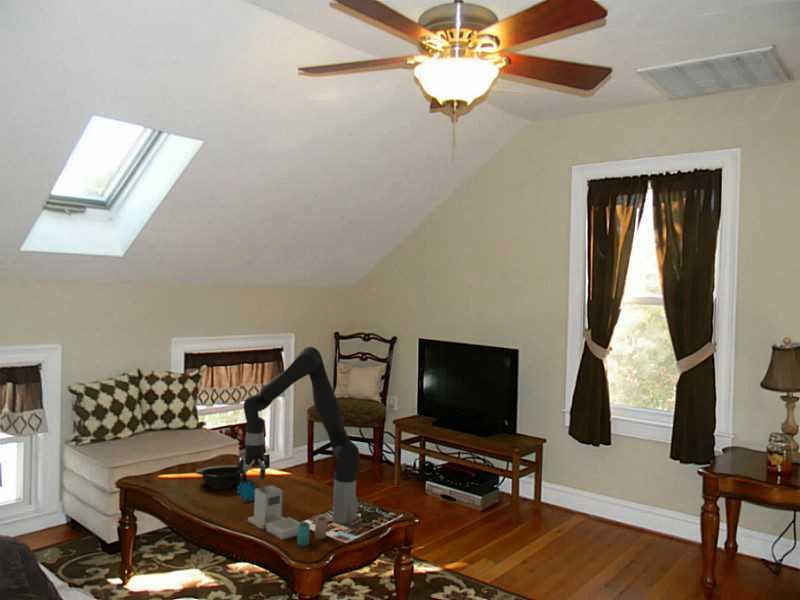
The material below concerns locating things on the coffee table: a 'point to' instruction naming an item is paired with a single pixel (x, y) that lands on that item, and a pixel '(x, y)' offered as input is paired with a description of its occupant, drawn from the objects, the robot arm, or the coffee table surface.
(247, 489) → the gear
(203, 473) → the stone bowl
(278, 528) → the tray
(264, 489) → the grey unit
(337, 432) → the robot arm
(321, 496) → the coffee table surface
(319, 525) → the beige cylinder
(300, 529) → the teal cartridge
